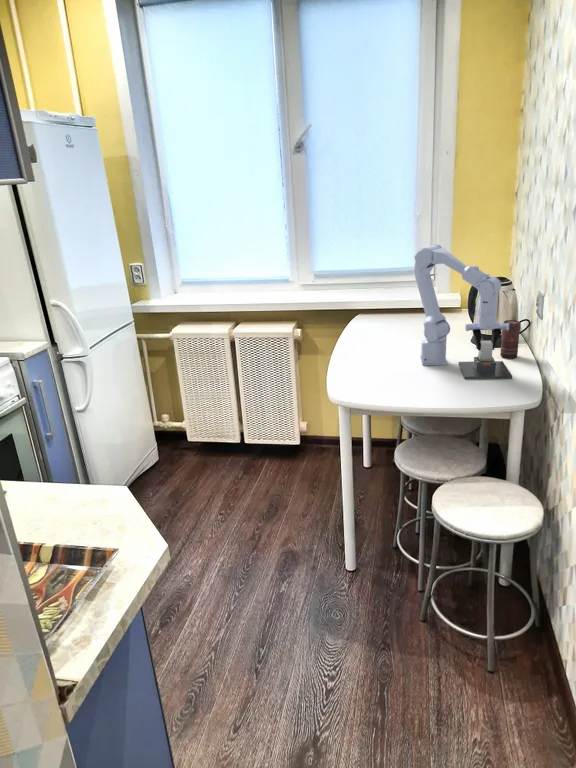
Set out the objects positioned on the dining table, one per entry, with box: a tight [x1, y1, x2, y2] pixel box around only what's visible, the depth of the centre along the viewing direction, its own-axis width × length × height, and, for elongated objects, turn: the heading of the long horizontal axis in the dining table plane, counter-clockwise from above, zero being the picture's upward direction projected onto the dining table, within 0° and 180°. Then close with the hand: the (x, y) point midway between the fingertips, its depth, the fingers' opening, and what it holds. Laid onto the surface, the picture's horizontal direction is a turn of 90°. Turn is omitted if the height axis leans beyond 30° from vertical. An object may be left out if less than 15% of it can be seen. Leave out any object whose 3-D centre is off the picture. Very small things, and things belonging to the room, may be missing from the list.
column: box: [477, 339, 494, 362], centre depth 202 cm, size 4×4×8 cm
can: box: [499, 319, 522, 360], centre depth 215 cm, size 6×6×14 cm
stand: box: [457, 356, 513, 380], centre depth 204 cm, size 16×16×4 cm
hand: (485, 349), depth 202 cm, fingers closed on column, 4 cm apart
